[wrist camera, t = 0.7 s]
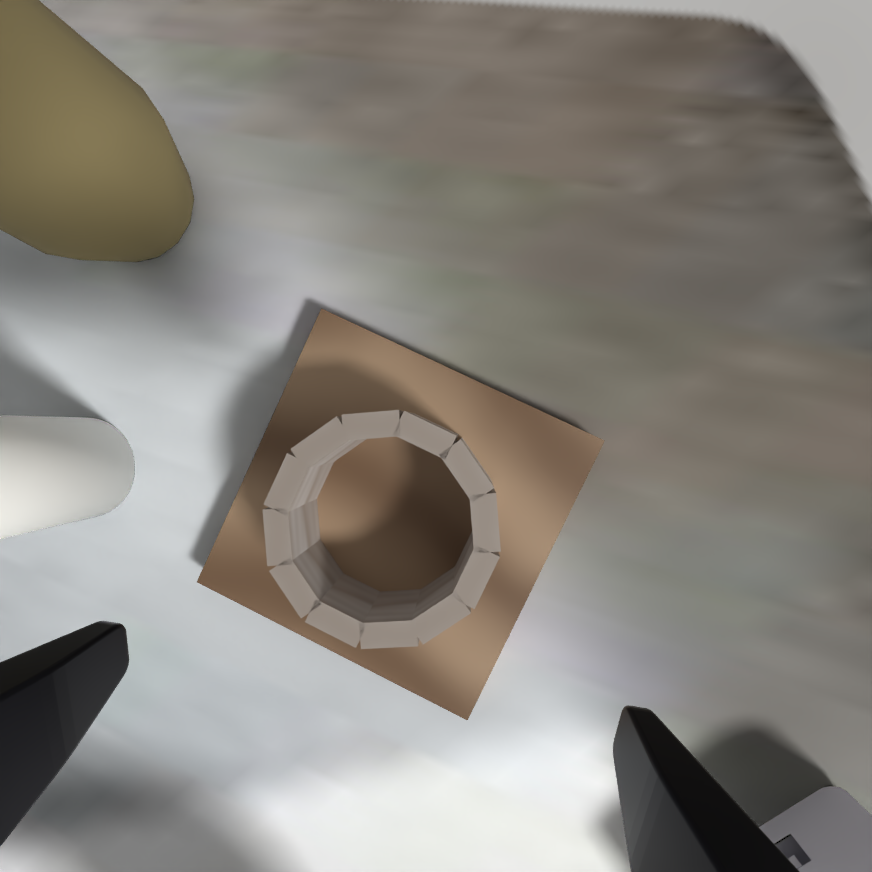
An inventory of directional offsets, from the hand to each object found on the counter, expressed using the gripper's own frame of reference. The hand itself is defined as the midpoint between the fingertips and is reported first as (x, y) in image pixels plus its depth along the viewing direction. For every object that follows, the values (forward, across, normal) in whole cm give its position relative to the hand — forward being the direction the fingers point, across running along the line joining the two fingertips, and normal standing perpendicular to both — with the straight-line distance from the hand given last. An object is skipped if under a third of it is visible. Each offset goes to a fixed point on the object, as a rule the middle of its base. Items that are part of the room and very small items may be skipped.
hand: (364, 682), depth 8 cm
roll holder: (+14, +2, +3) cm, 14 cm away
